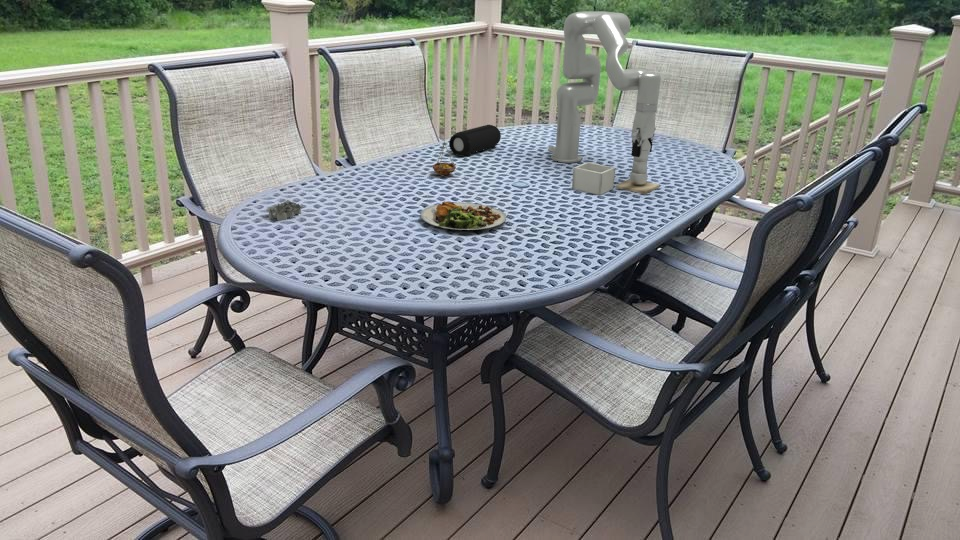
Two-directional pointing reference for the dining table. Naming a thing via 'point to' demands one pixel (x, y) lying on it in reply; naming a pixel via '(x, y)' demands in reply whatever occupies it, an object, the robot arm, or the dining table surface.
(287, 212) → the dark grey rough lump
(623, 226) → the dining table surface
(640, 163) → the plastic bottle
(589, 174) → the bin
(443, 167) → the bird feeder
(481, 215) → the plate of food
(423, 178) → the dining table surface
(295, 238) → the dining table surface
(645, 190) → the pad
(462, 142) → the portable speaker
